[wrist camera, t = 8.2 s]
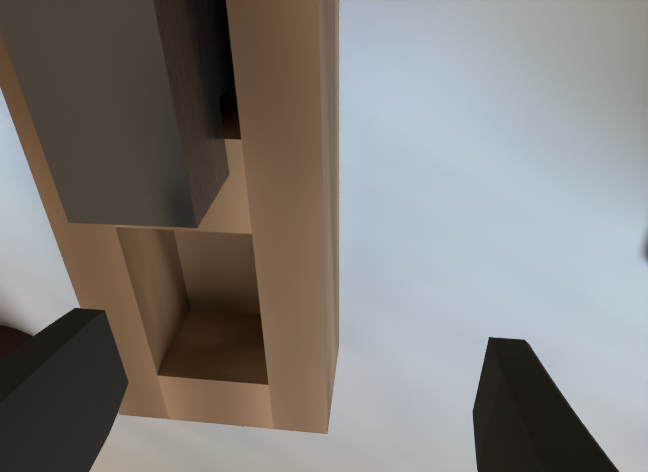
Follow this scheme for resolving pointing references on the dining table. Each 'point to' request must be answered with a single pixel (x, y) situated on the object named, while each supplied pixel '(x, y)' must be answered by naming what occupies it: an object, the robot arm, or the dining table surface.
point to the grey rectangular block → (126, 103)
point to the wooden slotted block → (230, 242)
